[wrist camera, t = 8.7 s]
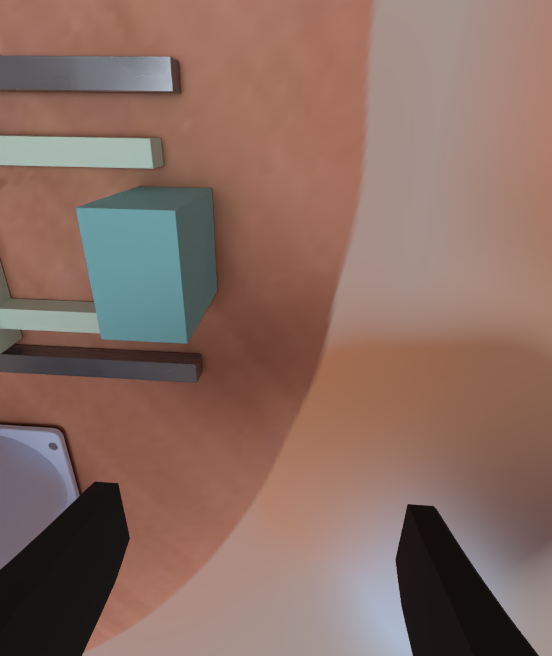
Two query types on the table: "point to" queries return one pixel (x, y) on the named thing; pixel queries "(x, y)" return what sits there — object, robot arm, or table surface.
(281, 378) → the table surface
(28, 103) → the table surface
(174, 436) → the table surface
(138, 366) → the lane rails
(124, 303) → the two-compartment tray
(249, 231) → the table surface
